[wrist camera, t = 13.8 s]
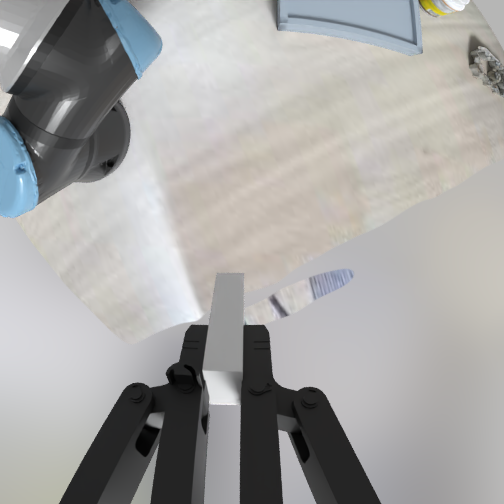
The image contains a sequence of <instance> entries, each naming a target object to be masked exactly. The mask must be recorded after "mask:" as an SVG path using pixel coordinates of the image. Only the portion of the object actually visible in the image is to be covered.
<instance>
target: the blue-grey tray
mask: <svg viewBox="0 0 504 504" xmlns="http://www.w3.org/2000/svg"><path fill="white" fill-rule="evenodd" d="M277 3H278V30H280V31H293V32H303V33H312V34H319V35H326V36H332V37H338V38H344V39H349V40H354V41H358V42H363V43H367V44H371V45H375V46H379V47H383V48H386V49H390V50H393V51H397V52H400V53H403V54H406V55H409V56H411V55H416V54H422V53H423V50H422V33H421V21H420V12H419V4H418V0H277Z"/></svg>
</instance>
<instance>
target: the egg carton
mask: <svg viewBox="0 0 504 504" xmlns="http://www.w3.org/2000/svg"><path fill="white" fill-rule="evenodd" d="M478 49H479V50H475V51H471V56H472V57H473V59H474V64H473V65H470V67H469V68H470V70H471V71H472V74H473V77H474V78H477V79H482V81H483V85H485V86H487V87H491V88H492V92H493V94H498V95H500V96H501V97H504V67H503V65H502V64H501V63H500V61H499V60H498V59H496V58H495V56H493V55H492V54H491V53H490V51H489V50H488V49H487V48H485V47H480V46H479V47H478ZM477 53H478V54H479V55H478V54H477ZM480 58H481V60H488V62H489V65H490V67H491V68H492V69H498V72H495V71H489V72H488V73H487V76H486V74H484V67H483V65H482V64H481V63H480ZM492 82H496V83H497V85H492ZM498 88H499V89H498Z"/></svg>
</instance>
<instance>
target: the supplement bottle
mask: <svg viewBox="0 0 504 504" xmlns="http://www.w3.org/2000/svg"><path fill="white" fill-rule="evenodd" d="M468 3H469V0H418V4H419V6H420V7H421V8H422V10H423V11H424V12H425V13H427V14H428V15H430V16H432V17H439V16H443V15H446V14H450V13H453V12H457V11H461V10H463V9H464V7H465V4H468Z"/></svg>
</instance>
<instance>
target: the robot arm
mask: <svg viewBox="0 0 504 504" xmlns="http://www.w3.org/2000/svg"><path fill="white" fill-rule="evenodd" d="M161 50H162V40H161V37H160V36H159V34H158V33H157V32H156V31H155V29H154V28H153V27H152V26H151V25H150V24H149V22H148V21H147V20H146V19H145V18H144V17H143V16H142V15H141V14H140V13H139V12H138V11H137V10H136V9H135V8H134V7H133V6H132V5H131V4H130V3H129V2H128V1H127V0H0V85H1V89H2V91H3V92H5V93H9V94H13V96H12V98H11V100H10V102H9V104H8V106H7V108H6V110H5V112H4V114H3V115H2V116H0V215H1V216H3V217H10V218H14V217H18V216H20V215H21V214H24V213H26V212H28V211H30V210H33V209H34V208H35V206H37V205H38V204H40V203H41V202H43V201H44V200H46V199H47V198H49V197H50V196H52V195H54V194H55V193H57V192H58V191H60V190H62V189H63V188H65V187H67V186H68V185H70V184H72V183H73V182H82V183H89V182H94V181H98V180H100V179H102V178H104V177H106V176H108V175H109V174H111V173H112V172H113V171H115V170H116V169H117V168H118V167H119V165H120V164H121V163H122V161H123V159H124V158H125V156H126V153H127V151H128V147H129V143H130V124H129V120H128V116H127V114H126V112H125V110H124V108H123V107H122V105H121V104H120V103H119V102H118V100H119V99H120V98H121V97H122V95H123V94H124V93H125V92H126V91H127V90H128V88H129V87H130V86H131V85H132V84H133V83H134V82H135V81H136V80H137V79H138V80H139V79H140V78H141V77H142V73H143V72H144V71H145V70H146V69H147V68H148V66H149V65H150V64H151V63H152V62H153V61H154V60H155V59H156V58H157V57H158V55H159V54H160V52H161ZM166 376H167V378H168V381H169V383H168V384H166V385H163V386H157V387H152V388H149V387H148V386H147V385H145V384H143V383H132V384H130V385H129V386H127V387H126V388H125V389H124V390H123V392H122V394H121V396H120V397H119V399H118V400H117V402H116V404H115V405H114V407H113V409H112V410H111V412H110V414H109V415H108V417H107V419H106V420H105V422H104V424H103V425H102V427H101V429H100V431H99V432H98V434H97V436H96V437H95V439H94V441H93V443H92V444H91V446H90V448H89V450H88V451H87V453H86V455H85V457H84V459H83V460H82V462H81V464H80V466H79V467H78V469H77V471H76V473H75V475H74V477H73V478H72V480H71V482H70V484H69V486H68V488H67V490H66V492H65V493H64V495H63V497H62V499H61V501H60V503H59V504H130V503H131V501H132V499H133V497H134V495H135V493H136V491H137V488H138V486H139V484H140V482H141V480H142V478H143V475H144V473H145V471H146V469H147V467H148V465H149V463H150V461H151V458H152V456H153V454H154V452H155V450H156V448H157V446H158V444H159V448H158V454H157V460H156V467H155V474H154V480H153V488H152V495H151V503H150V504H204V489H205V471H206V457H207V443H208V429H209V417H210V414H209V409H208V408H209V401H210V404H222V405H241V432H240V434H241V435H240V504H283V497H282V481H281V466H280V451H279V436H278V430H282V431H286V432H288V435H289V437H290V440H291V443H292V445H293V448H294V450H295V452H296V455H297V458H298V460H299V463H300V465H301V467H302V470H303V472H304V475H305V477H306V480H307V482H308V484H309V487H310V489H311V492H312V494H313V496H314V499H315V501H316V503H317V504H381V503H380V501H379V499H378V497H377V495H376V493H375V491H374V489H373V487H372V485H371V483H370V481H369V479H368V477H367V476H366V473H365V471H364V469H363V467H362V465H361V463H360V462H359V460H358V458H357V456H356V454H355V452H354V450H353V448H352V446H351V444H350V442H349V440H348V438H347V436H346V434H345V432H344V430H343V428H342V427H341V425H340V423H339V421H338V419H337V417H336V415H335V413H334V411H333V409H332V408H331V406H330V403H329V401H328V400H327V397H326V395H325V394H324V393H323V392H322V391H321V390H319V389H317V388H314V387H304V388H302V389H300V390H298V391H295V390H291V389H287V388H284V387H281V386H280V385H278V383H277V382H275V380H274V378H273V374H272V362H271V350H270V337H269V332H268V330H267V329H266V327H265V325H244V273H217V275H216V281H215V287H214V293H213V300H212V306H211V313H210V319H209V325H191V326H190V327H189V328H188V330H187V331H186V333H185V337H184V342H183V346H182V351H181V355H180V360H179V362H178V363H175V364H173V365H172V366H171V367H169V368H168V370H167V372H166ZM159 441H160V442H159Z"/></svg>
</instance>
